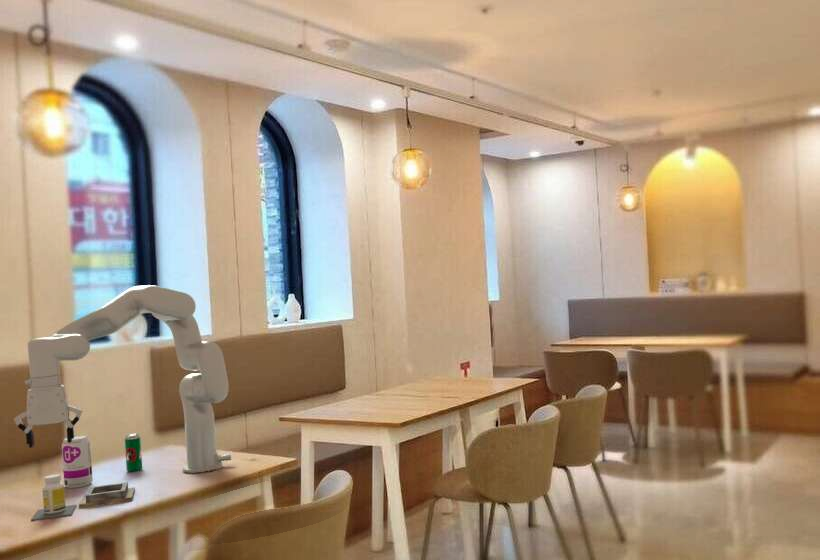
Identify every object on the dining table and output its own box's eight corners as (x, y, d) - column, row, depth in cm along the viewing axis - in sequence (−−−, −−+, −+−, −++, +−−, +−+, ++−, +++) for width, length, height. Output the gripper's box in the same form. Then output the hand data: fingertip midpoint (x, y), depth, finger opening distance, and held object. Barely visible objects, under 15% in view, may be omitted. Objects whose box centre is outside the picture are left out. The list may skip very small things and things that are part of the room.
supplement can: (82, 488, 234) (79, 440, 234) (58, 488, 235) (55, 440, 235) (98, 481, 242) (95, 434, 242) (75, 481, 243) (72, 435, 243)
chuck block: (134, 490, 226) (134, 480, 226) (132, 500, 215) (131, 490, 215) (84, 497, 222) (84, 487, 222) (78, 508, 211) (78, 497, 211)
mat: (76, 505, 213) (76, 504, 213) (71, 515, 204) (71, 513, 204) (38, 511, 211) (37, 509, 211) (30, 521, 201) (30, 519, 201)
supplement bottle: (68, 507, 210) (66, 472, 210) (61, 513, 205) (59, 477, 205) (48, 509, 210) (46, 474, 210) (40, 515, 204) (38, 479, 205)
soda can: (144, 470, 253) (142, 434, 253) (128, 473, 250) (126, 437, 250) (140, 468, 257) (138, 432, 257) (125, 470, 254) (122, 435, 254)
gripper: (8, 387, 201) (13, 451, 202) (77, 380, 206) (83, 442, 206) (14, 384, 209) (19, 445, 209) (81, 377, 214) (86, 437, 214)
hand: (51, 444), depth 208 cm, fingers open, 9 cm apart
